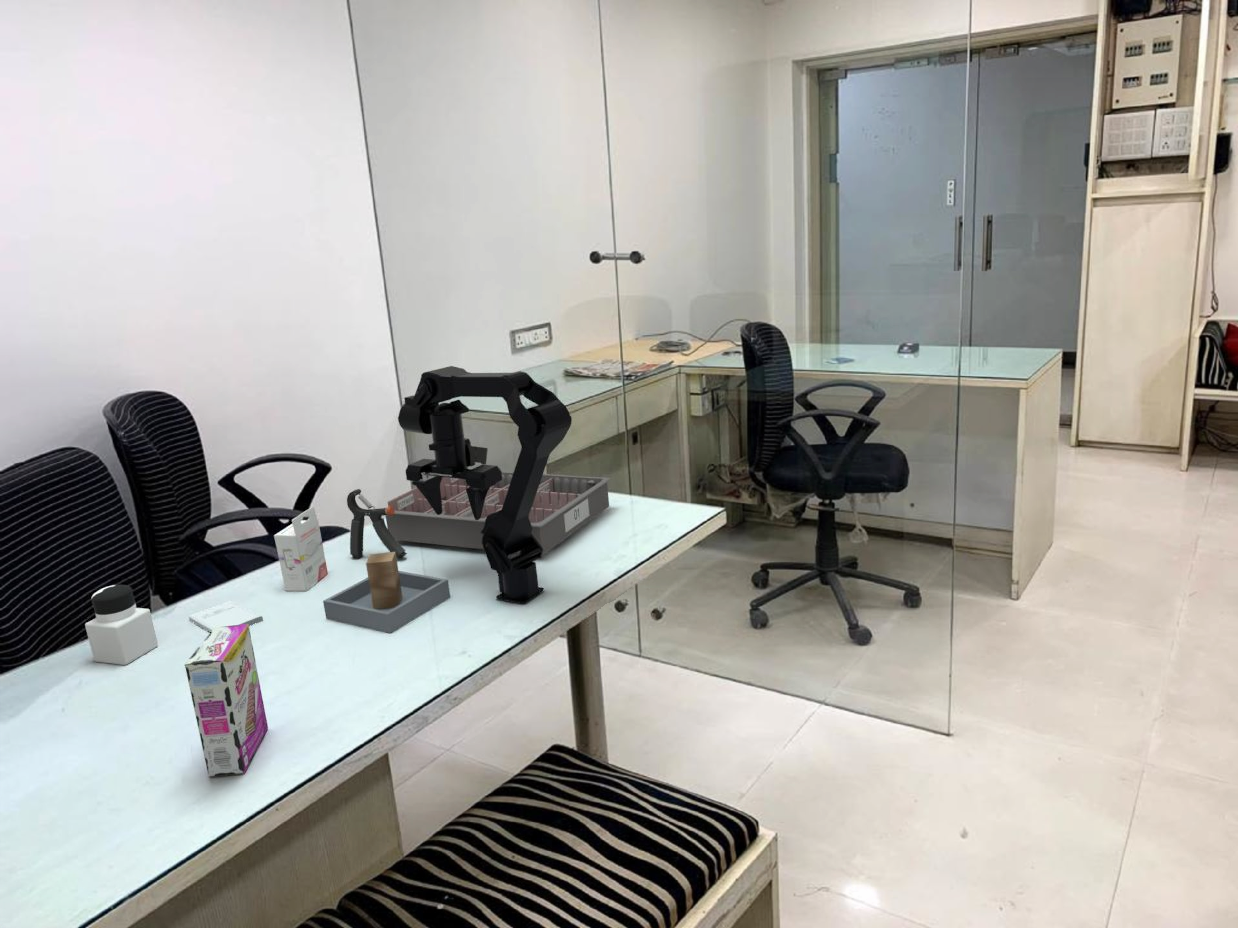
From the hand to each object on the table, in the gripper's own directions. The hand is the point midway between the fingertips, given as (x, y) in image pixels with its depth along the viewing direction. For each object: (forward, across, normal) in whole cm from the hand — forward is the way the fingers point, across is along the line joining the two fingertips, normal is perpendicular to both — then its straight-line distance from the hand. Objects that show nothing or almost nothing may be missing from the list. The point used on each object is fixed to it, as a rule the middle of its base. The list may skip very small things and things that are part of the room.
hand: (458, 516), depth 171 cm
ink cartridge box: (+14, +31, +12) cm, 36 cm away
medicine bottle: (+14, +37, +46) cm, 60 cm away
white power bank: (+14, +32, +30) cm, 46 cm away
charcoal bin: (+13, +6, +15) cm, 21 cm away
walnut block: (+12, +6, +15) cm, 20 cm away
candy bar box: (+13, -8, +58) cm, 60 cm away
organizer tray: (+14, +12, -27) cm, 33 cm away
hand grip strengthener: (+14, +26, -3) cm, 29 cm away
